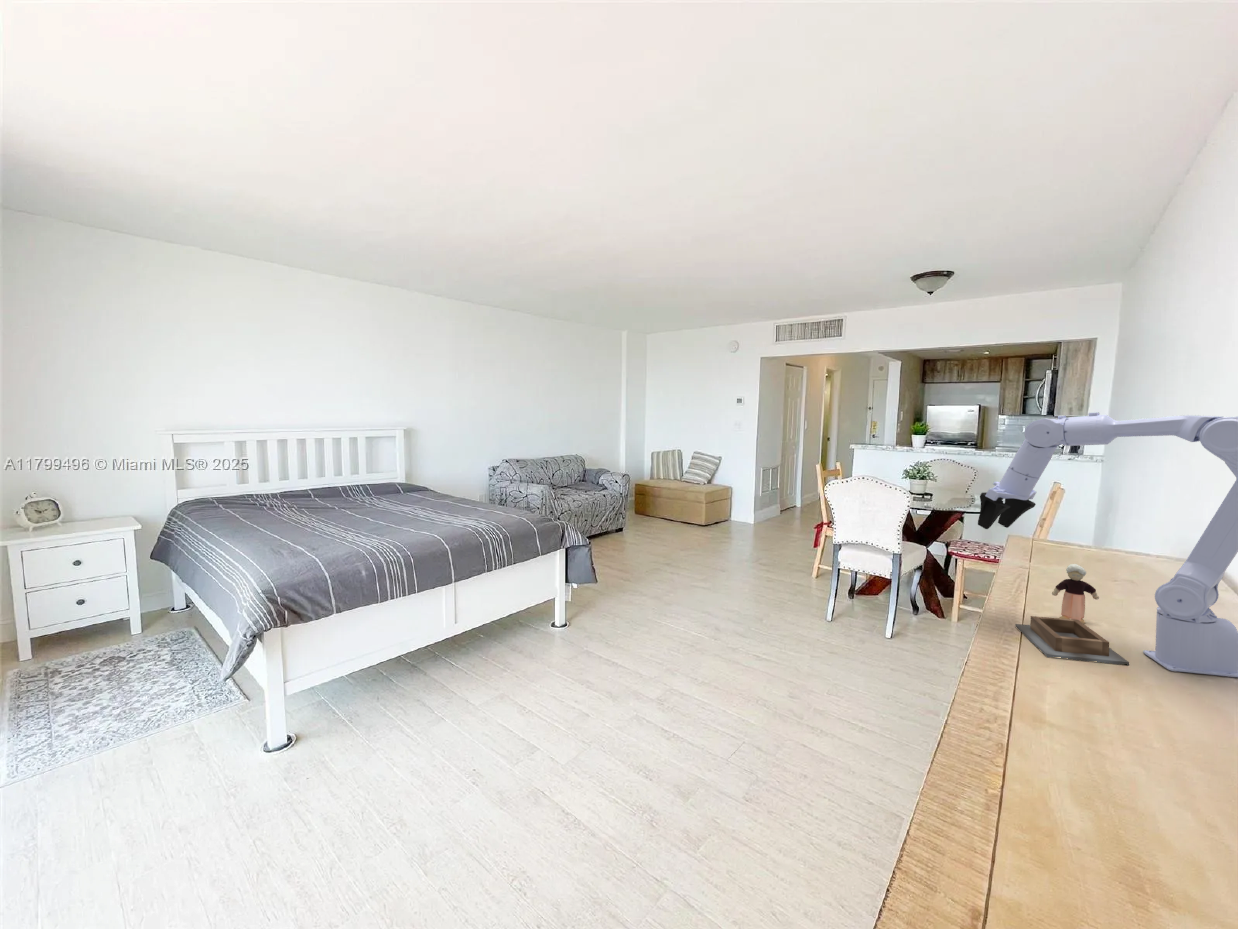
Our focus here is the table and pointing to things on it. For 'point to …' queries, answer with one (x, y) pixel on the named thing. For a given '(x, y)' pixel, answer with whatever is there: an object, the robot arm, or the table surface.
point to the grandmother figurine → (1074, 593)
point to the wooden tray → (1069, 640)
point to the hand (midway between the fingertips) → (992, 526)
